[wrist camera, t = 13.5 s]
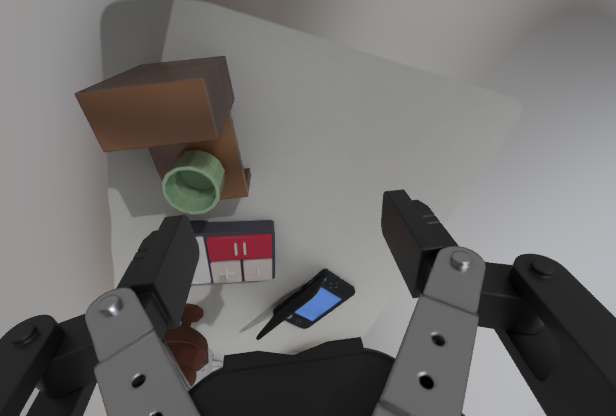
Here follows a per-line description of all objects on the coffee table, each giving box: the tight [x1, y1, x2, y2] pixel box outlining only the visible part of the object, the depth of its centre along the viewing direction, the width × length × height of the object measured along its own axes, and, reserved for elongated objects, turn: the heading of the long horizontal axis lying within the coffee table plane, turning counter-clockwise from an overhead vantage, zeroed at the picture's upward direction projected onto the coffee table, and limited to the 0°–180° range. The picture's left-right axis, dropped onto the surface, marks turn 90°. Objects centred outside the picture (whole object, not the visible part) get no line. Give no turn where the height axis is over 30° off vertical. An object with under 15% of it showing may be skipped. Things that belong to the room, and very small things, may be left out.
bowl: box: [161, 150, 225, 215], centre depth 35 cm, size 6×6×5 cm
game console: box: [256, 269, 355, 340], centre depth 57 cm, size 16×14×9 cm
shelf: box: [75, 56, 251, 200], centre depth 34 cm, size 16×10×14 cm, turn 5°
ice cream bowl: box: [163, 304, 209, 387], centre depth 54 cm, size 11×11×15 cm
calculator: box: [190, 220, 275, 285], centre depth 50 cm, size 11×4×15 cm
